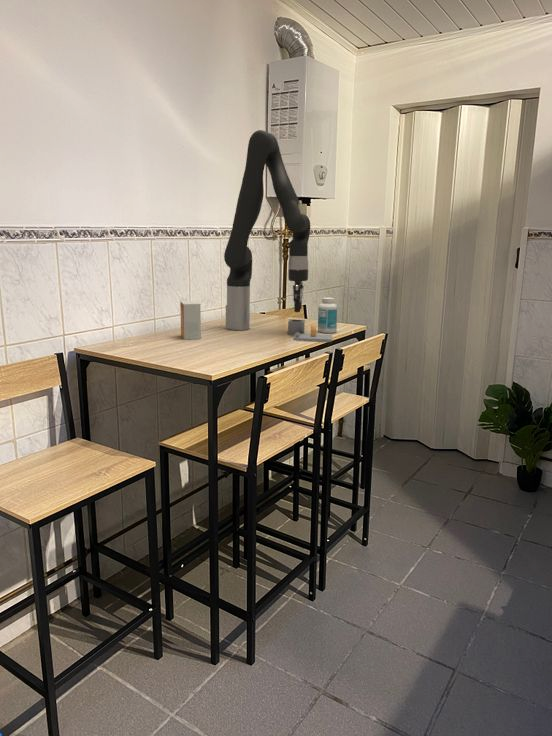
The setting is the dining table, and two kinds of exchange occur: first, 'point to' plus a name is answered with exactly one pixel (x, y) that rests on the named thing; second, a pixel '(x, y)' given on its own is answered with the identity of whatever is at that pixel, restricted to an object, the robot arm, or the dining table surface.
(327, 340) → the keeper
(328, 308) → the pill bottle
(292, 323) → the grey block
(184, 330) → the small box
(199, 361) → the dining table surface
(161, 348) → the dining table surface
